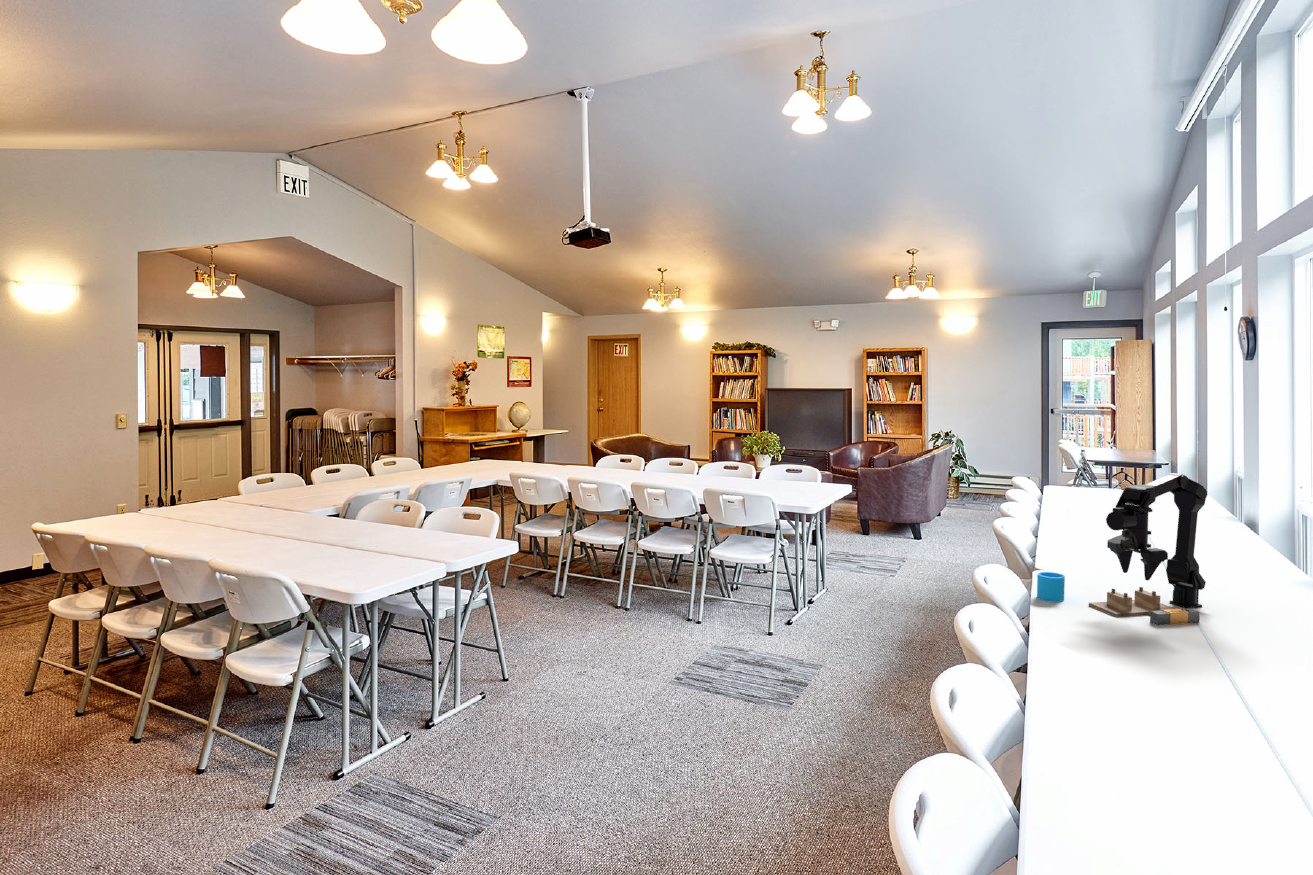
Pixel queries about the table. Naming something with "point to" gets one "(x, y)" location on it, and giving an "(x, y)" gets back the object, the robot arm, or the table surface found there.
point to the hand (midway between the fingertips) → (1136, 576)
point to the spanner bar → (1174, 616)
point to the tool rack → (1130, 603)
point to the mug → (1050, 586)
